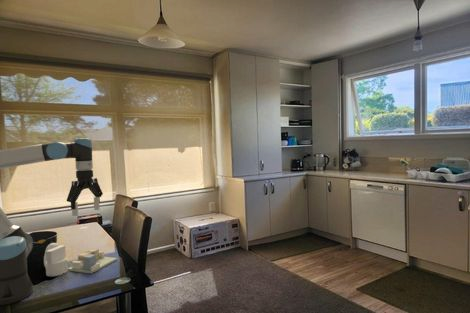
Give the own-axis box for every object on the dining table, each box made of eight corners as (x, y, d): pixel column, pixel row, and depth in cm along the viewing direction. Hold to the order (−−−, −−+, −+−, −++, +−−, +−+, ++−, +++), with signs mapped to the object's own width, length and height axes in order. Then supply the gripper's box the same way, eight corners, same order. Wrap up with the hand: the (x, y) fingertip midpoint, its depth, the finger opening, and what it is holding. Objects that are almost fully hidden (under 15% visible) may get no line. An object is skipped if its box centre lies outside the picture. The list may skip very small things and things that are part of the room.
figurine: (53, 268, 152) (52, 245, 151) (40, 268, 153) (39, 245, 153) (64, 263, 159) (62, 241, 158) (51, 263, 160) (50, 240, 160)
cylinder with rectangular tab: (57, 276, 142) (55, 251, 141) (41, 275, 144) (40, 250, 143) (71, 269, 150) (70, 245, 150) (56, 268, 152) (55, 244, 152)
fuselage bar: (84, 265, 151) (84, 255, 151) (78, 265, 152) (78, 255, 152) (99, 258, 161) (98, 249, 161) (93, 257, 162) (92, 248, 162)
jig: (91, 273, 144) (91, 265, 144) (67, 270, 149) (67, 262, 149) (117, 259, 161) (116, 252, 161) (95, 257, 166) (94, 250, 166)
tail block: (90, 269, 146) (89, 257, 145) (83, 269, 147) (83, 256, 147) (96, 266, 149) (95, 254, 149) (89, 265, 151) (89, 254, 150)
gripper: (69, 171, 134) (71, 218, 134) (108, 167, 158) (110, 207, 158) (56, 172, 136) (58, 218, 137) (97, 168, 160) (99, 207, 160)
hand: (86, 212), depth 147 cm, fingers open, 13 cm apart
